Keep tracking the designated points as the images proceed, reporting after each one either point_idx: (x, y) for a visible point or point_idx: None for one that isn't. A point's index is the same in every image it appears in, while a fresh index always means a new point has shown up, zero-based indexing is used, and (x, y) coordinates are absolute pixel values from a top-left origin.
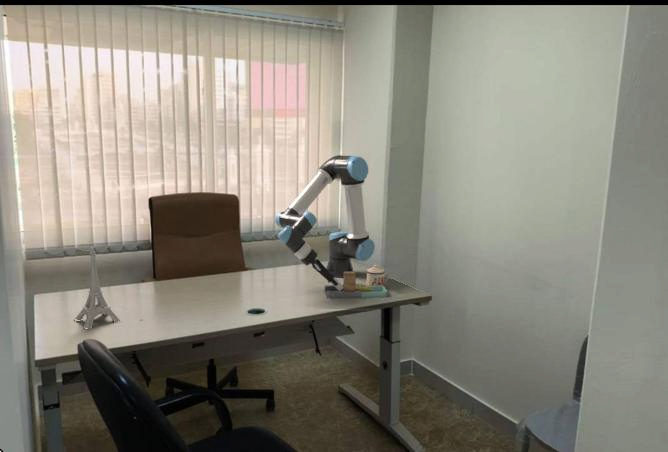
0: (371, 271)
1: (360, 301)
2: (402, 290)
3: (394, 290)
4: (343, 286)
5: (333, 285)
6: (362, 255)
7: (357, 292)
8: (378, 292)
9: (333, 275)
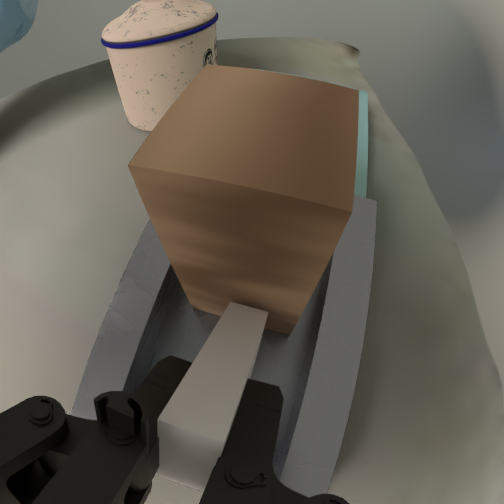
0: (177, 23)
1: (399, 257)
2: (258, 53)
3: (247, 66)
4: (193, 289)
5: (94, 362)
6: (20, 2)
7: (373, 230)
8: (367, 121)
9: (144, 428)
